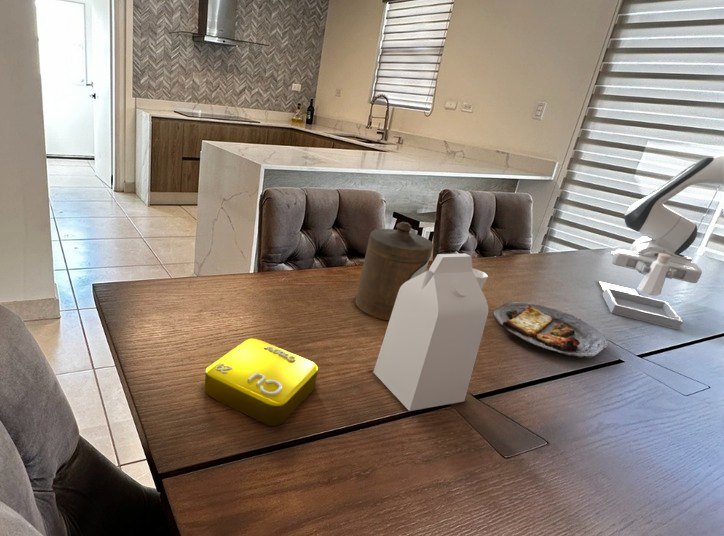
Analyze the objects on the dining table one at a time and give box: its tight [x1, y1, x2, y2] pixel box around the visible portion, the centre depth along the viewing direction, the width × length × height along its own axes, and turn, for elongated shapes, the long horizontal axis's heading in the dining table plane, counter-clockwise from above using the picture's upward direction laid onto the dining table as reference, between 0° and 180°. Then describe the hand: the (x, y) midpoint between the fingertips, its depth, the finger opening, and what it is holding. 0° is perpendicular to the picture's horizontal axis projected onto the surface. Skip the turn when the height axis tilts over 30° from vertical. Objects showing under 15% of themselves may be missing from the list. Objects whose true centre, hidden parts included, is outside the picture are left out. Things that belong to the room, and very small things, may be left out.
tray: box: [602, 288, 684, 331], centre depth 133 cm, size 16×15×3 cm
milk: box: [372, 252, 489, 412], centre depth 82 cm, size 12×12×26 cm
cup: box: [472, 268, 489, 291], centre depth 127 cm, size 7×10×8 cm
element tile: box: [204, 337, 319, 427], centre depth 80 cm, size 15×15×5 cm
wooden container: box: [355, 221, 434, 321], centre depth 113 cm, size 15×15×22 cm
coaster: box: [598, 281, 639, 295], centre depth 147 cm, size 10×10×1 cm
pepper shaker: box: [637, 253, 671, 296], centre depth 129 cm, size 5×5×11 cm
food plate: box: [492, 301, 610, 359], centre depth 113 cm, size 25×23×4 cm
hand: (658, 273), depth 128 cm, fingers closed on pepper shaker, 4 cm apart
